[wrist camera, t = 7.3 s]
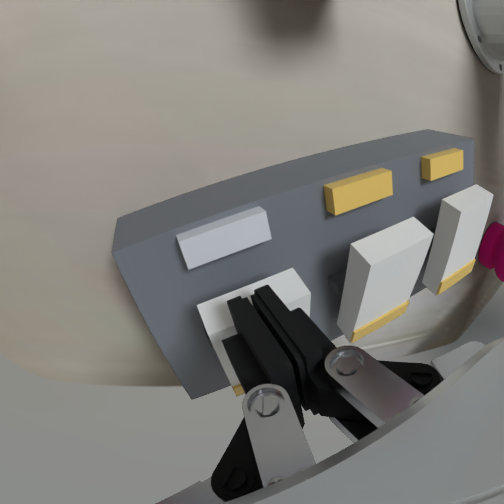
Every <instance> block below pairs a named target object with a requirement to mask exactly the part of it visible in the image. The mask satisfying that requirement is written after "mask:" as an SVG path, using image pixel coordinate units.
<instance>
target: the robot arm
mask: <svg viewBox="0 0 504 504" xmlns="http://www.w3.org/2000/svg"><path fill="white" fill-rule="evenodd" d="M458 3H459V9H460V13H461V17H462V20H463V24H464V27H465V30H466V32H467V35H468V37H469V40H470V42H471V44H472V46H473V48H474V50H475V52H476V54H477V55H478V57H479V59H480V60H481V61H482V63H483V64H484V65H485V66H486V67H487V68H488V69H489V70H490V71H492V72H494V73H499V74H504V0H458ZM254 293H255V294H253V295H251V300H252V304H253V305H252V304H251V302H250V301H249V299H248V298H247V297H245V298H243V299H242V297H241V296H238V297H235V298H233V299H230V300H228V301H227V305H228V308H229V311H230V313H231V316H232V319H233V322H234V325H235V328H236V331H237V334H236V335H233V336H231V337H228V338H226V339H223V340H222V343H223V346H224V348H225V350H226V353H227V355H228V358H229V360H230V362H231V365H232V367H233V369H234V371H235V373H236V375H237V377H238V380H239V382H240V384H241V386H242V388H243V390H244V392H245V394H246V395H245V397H244V399H243V402H242V409H243V413H244V418H243V420H242V422H241V424H240V426H239V428H238V429H237V431H236V433H235V435H234V437H233V438H232V440H231V442H230V444H229V446H228V447H227V449H226V451H225V453H224V455H223V457H222V458H221V460H220V462H219V463H218V465H217V467H216V469H215V470H214V472H213V474H212V477H211V478H209V479H207V480H205V481H204V482H200V481H199V482H197V483H195V484H193V485H191V486H190V487H188V488H186V489H184V490H182V491H180V492H178V493H176V494H174V495H172V496H170V497H168V498H166V499H164V500H162V501H160V502H158V503H156V504H504V337H502V338H500V339H497V340H495V341H493V342H492V343H490V344H488V345H486V346H485V345H484V344H482V343H480V342H475V341H472V342H469V343H466V344H465V345H462V346H460V347H459V348H456V349H454V350H453V351H450V352H448V353H446V354H444V355H442V356H440V357H438V358H436V359H433V360H432V361H431V363H430V364H422V363H406V362H390V361H378V360H376V359H374V358H373V357H372V356H370V355H369V354H368V353H366V352H365V351H364V350H362V349H360V348H358V347H355V346H342V347H338V348H336V347H335V345H334V344H333V343H332V342H331V341H330V340H329V339H328V338H327V336H326V335H325V334H324V333H323V332H322V331H321V330H320V329H319V327H318V326H317V325H316V324H315V323H314V322H313V321H312V320H311V319H310V317H309V316H308V315H307V314H306V313H305V312H304V311H303V310H302V309H301V308H296V309H294V310H292V311H290V310H289V309H288V308H287V306H286V305H285V304H284V303H283V302H282V300H281V299H280V298H279V297H278V296H277V294H276V293H275V292H274V291H273V290H272V288H271V287H270V286H269V285H265V286H262V287H260V288H257V289H255V290H254ZM301 405H302V407H303V408H304V410H305V411H307V410H309V409H310V410H311V411H312V413H313V414H314V415H316V414H318V413H319V414H320V415H321V416H327V417H329V418H330V420H331V421H332V422H333V423H334V424H335V425H336V426H337V427H338V428H339V429H340V430H341V431H342V432H343V433H344V434H345V435H346V436H347V437H348V438H349V439H350V440H351V441H352V442H353V443H354V444H352V445H350V446H349V447H347V448H345V449H343V450H342V451H340V452H338V453H336V454H334V455H332V456H331V457H329V458H327V459H325V460H323V461H321V462H319V463H317V464H316V462H315V460H314V458H313V455H312V452H311V450H310V448H309V445H308V443H307V440H306V438H305V435H304V432H303V430H302V429H303V426H304V424H305V423H304V418H303V413H302V408H301Z"/></svg>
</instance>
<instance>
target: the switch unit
mask: <svg viewBox="0 0 504 504" xmlns="http://www.w3.org/2000/svg"><path fill="white" fill-rule="evenodd" d="M473 184H474V139H471V138H467V137H462V136H458V135H453V134H449V133H444V132H439V131H434V130H422V131H417V132H412V133H406V134H401V135H396V136H392V137H387V138H382V139H377V140H373V141H368V142H364V143H359V144H355V145H351V146H347V147H342V148H338V149H334V150H330V151H326V152H322V153H318V154H315V155H311V156H307V157H303V158H299V159H296V160H292V161H288V162H285V163H281V164H278V165H274V166H271V167H267V168H264V169H260V170H257V171H254V172H250V173H247V174H244V175H241V176H237V177H234V178H231V179H228V180H225V181H221V182H218V183H215V184H212V185H209V186H206V187H203V188H200V189H197V190H194V191H191V192H188V193H185V194H182V195H180V196H177V197H174V198H171V199H168V200H165V201H163V202H160V203H157V204H154V205H152V206H149V207H146V208H144V209H141V210H138V211H136V212H133V213H130V214H128V215H125V216H123V217H120V218H118V219H117V225H116V230H115V236H114V242H113V248H112V254H113V257H114V259H115V261H116V263H117V265H118V268H119V270H120V272H121V274H122V276H123V278H124V280H125V282H126V284H127V286H128V288H129V290H130V292H131V294H132V296H133V298H134V300H135V302H136V304H137V306H138V308H139V310H140V312H141V314H142V316H143V318H144V320H145V322H146V323H147V325H148V327H149V329H150V331H151V333H152V334H153V336H154V338H155V340H156V342H157V343H158V345H159V347H160V349H161V350H162V352H163V354H164V356H165V357H166V359H167V361H168V362H169V364H170V366H171V367H172V369H173V371H174V372H175V374H176V376H177V377H178V379H179V381H180V382H181V384H182V385H183V387H184V388H185V390H186V392H187V393H188V394H189V396H190V398H191V399H195V398H198V397H201V396H204V395H206V394H209V393H212V392H215V391H217V390H220V389H223V388H225V387H228V386H230V385H231V383H230V381H229V379H228V377H227V375H226V373H225V371H224V369H223V367H222V364H221V362H220V360H219V358H218V356H217V354H216V351H215V349H214V347H213V345H212V343H211V340H210V338H209V336H208V333H207V331H206V328H205V326H204V323H203V320H202V318H201V315H200V313H199V310H198V307H197V305H198V304H201V303H203V302H206V301H209V300H211V299H214V298H216V297H219V296H222V295H224V294H227V293H229V292H232V291H235V290H237V289H240V288H242V287H245V286H247V285H250V284H253V283H255V282H258V281H260V280H263V279H265V278H268V277H270V276H273V275H275V274H278V273H280V272H283V271H285V270H288V269H290V268H293V269H294V270H295V271H296V273H297V274H298V276H299V277H300V278H301V280H302V281H303V283H304V284H305V285H306V287H307V288H308V290H309V291H310V292H311V302H310V319H311V320H312V321H313V322H314V323H315V324H316V325H317V326H318V327H319V329H320V330H321V331H322V332H323V333H324V334H325V335H326V336H327V338H328V339H329V340H330V341H331V340H333V339H335V338H337V337H339V336H341V335H343V332H342V331H341V329H340V328H339V326H338V325H337V320H338V315H339V310H340V305H341V300H342V294H343V289H344V283H345V277H346V271H347V265H348V258H349V252H350V245H351V243H353V242H356V241H358V240H361V239H363V238H365V237H368V236H370V235H372V234H375V233H377V232H379V231H382V230H384V229H386V228H389V227H391V226H393V225H396V224H398V223H400V222H402V221H405V220H407V219H409V218H412V217H415V218H416V219H417V220H418V221H419V222H421V223H422V224H423V225H424V226H425V227H426V228H427V229H428V230H430V231H431V232H432V233H433V234H434V235H435V231H436V226H437V222H438V217H439V212H440V207H441V202H442V199H444V198H446V197H448V196H451V195H453V194H455V193H458V192H460V191H462V190H464V189H467V188H469V187H471V186H473ZM434 235H433V238H432V241H431V243H430V246H429V249H428V252H427V255H426V257H425V260H424V263H423V265H422V268H421V270H420V273H419V275H418V278H417V280H416V283H415V285H414V288H413V290H412V292H411V295H410V297H411V296H413V295H414V294H416V293H418V292H419V291H421V290H423V289H424V288H426V286H425V285H424V284H423V283H422V281H423V277H424V274H425V270H426V267H427V263H428V259H429V255H430V251H431V247H432V243H433V239H434Z"/></svg>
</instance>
